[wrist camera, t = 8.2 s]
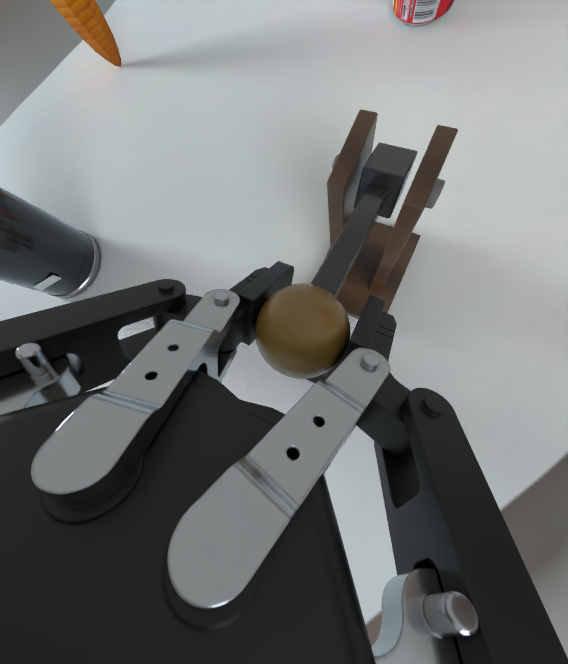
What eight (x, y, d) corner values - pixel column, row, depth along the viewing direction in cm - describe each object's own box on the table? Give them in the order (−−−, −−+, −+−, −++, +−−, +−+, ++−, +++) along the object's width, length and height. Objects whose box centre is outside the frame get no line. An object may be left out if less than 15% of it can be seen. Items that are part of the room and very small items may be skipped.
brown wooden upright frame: (380, 327, 28) (433, 272, 12) (309, 299, 29) (278, 221, 14) (417, 240, 28) (513, 83, 13) (345, 218, 30) (353, 58, 15)
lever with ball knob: (321, 406, 11) (336, 373, 8) (244, 368, 11) (228, 324, 8) (409, 204, 17) (437, 141, 14) (355, 189, 18) (369, 126, 15)
